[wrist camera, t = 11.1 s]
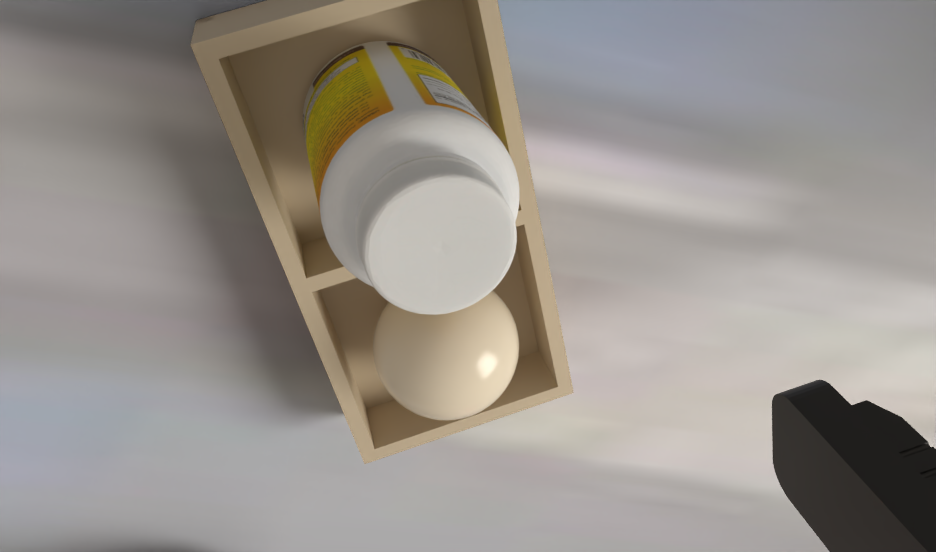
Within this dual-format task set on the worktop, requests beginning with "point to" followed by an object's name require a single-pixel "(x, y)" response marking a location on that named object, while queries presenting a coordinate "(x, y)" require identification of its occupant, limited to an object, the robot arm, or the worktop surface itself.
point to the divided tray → (295, 203)
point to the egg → (447, 357)
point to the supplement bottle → (409, 179)
